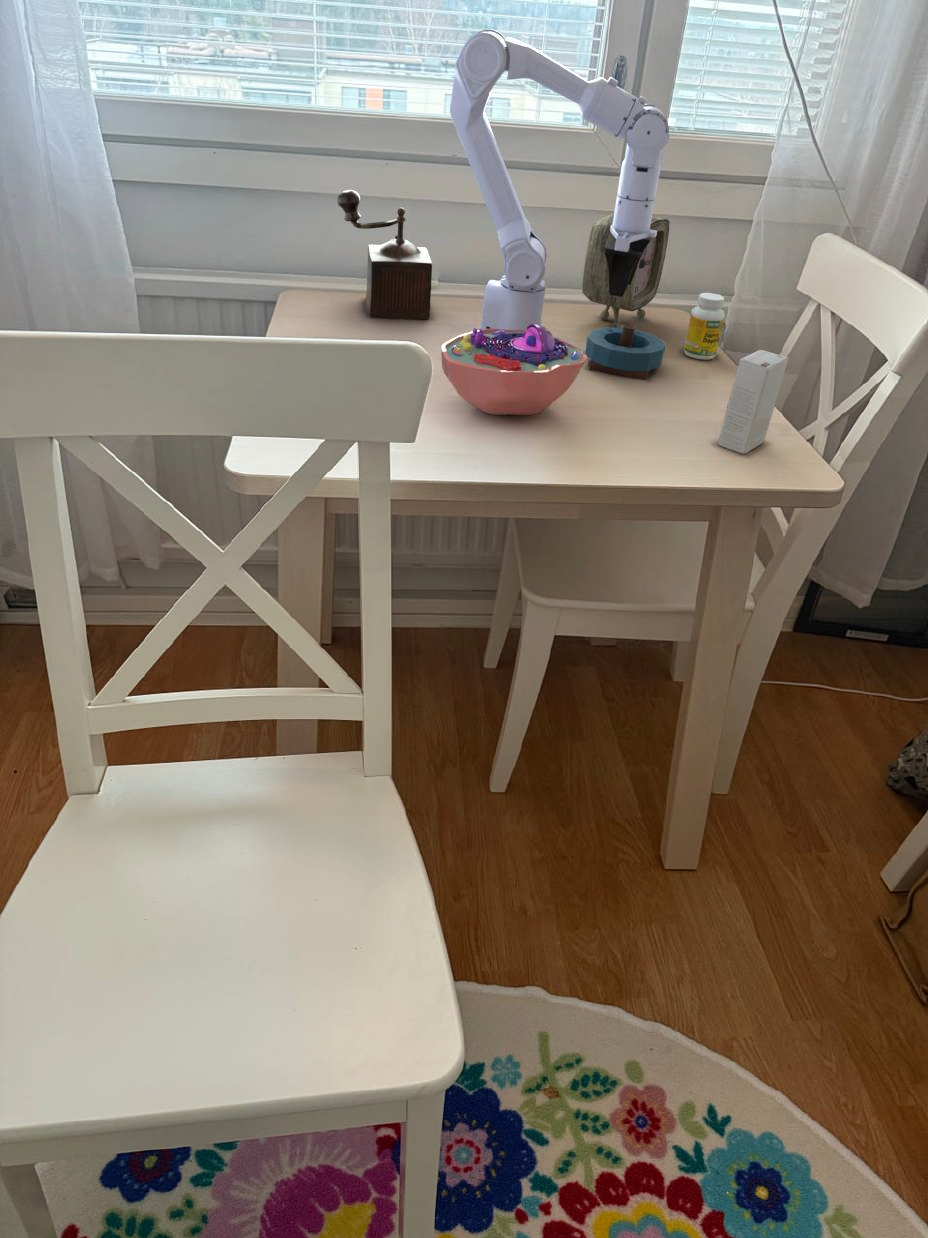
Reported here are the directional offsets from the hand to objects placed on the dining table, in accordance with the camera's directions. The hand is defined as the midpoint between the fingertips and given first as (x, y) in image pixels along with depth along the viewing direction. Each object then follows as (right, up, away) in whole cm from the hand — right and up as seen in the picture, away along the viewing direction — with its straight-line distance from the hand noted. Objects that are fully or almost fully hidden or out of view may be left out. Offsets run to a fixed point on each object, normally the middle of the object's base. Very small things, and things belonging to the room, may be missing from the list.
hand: (620, 289), depth 153 cm
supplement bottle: (+14, -8, +8) cm, 18 cm away
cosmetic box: (+13, -29, -22) cm, 38 cm away
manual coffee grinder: (-39, +1, +14) cm, 41 cm away
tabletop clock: (+2, 0, +19) cm, 19 cm away
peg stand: (0, -12, 0) cm, 12 cm away
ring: (+1, -11, 0) cm, 11 cm away
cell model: (-19, -23, -18) cm, 35 cm away
